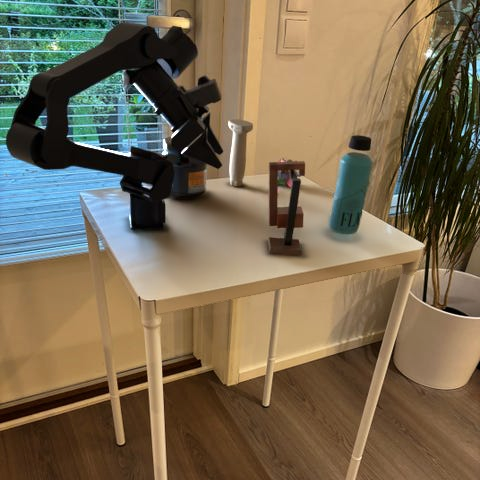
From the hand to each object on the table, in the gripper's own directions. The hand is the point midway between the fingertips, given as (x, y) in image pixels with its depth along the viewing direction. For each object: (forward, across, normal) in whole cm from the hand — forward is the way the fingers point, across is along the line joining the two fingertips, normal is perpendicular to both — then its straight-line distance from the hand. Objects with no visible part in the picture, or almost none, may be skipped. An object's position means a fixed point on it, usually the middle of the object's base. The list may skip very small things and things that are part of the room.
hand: (221, 160), depth 98 cm
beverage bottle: (+28, 0, -9) cm, 30 cm away
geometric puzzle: (+21, +29, -2) cm, 36 cm away
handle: (+12, +27, +7) cm, 30 cm away
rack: (+19, -2, 0) cm, 19 cm away
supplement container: (+4, +18, +16) cm, 24 cm away
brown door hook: (+18, -1, -2) cm, 18 cm away
